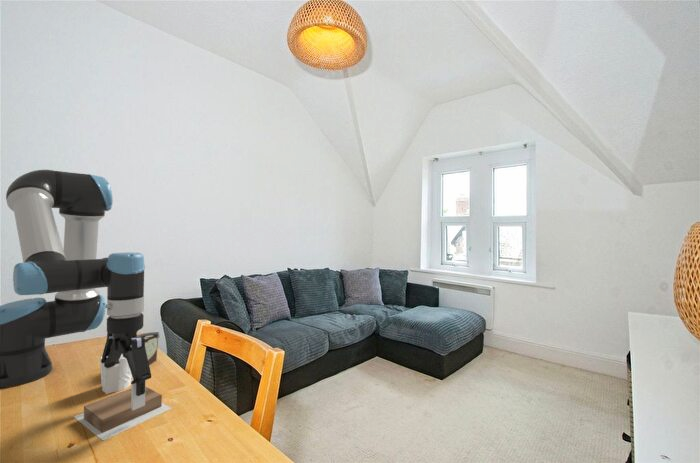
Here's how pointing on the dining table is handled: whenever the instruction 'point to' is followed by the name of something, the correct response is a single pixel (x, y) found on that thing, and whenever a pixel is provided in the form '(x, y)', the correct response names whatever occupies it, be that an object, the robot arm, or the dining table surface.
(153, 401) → the walnut board
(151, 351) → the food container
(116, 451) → the dining table surface
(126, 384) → the white cup
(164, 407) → the rubber mat
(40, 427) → the dining table surface
